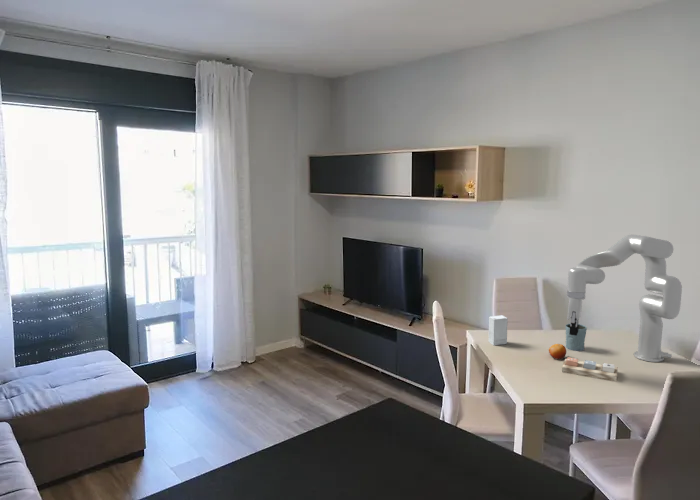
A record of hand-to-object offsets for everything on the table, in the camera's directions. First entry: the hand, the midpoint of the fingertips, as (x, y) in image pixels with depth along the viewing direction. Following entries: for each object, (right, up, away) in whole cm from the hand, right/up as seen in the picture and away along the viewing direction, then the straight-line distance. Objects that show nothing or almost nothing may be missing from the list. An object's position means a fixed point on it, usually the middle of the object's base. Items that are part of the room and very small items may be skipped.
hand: (573, 333), depth 225 cm
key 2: (+7, -15, -2) cm, 17 cm away
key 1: (+13, -16, -5) cm, 21 cm away
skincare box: (-24, -12, +39) cm, 47 cm away
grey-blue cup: (+14, -13, +30) cm, 36 cm away
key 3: (0, -15, +2) cm, 15 cm away
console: (+7, -18, -1) cm, 19 cm away
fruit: (0, -15, +17) cm, 23 cm away
